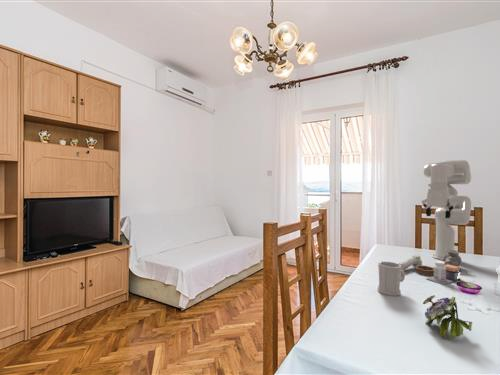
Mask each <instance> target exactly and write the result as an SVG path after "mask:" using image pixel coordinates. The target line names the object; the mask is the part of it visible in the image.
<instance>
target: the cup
mask: <svg viewBox="0 0 500 375" xmlns="http://www.w3.org/2000/svg"><path fill="white" fill-rule="evenodd" d="M377 264H378V265H377V266H378V285H377V291H378V292H379V293H381V294H383V295H386V296H389V297H395V296H396V297H397V296H400V295H401V292H402V291H401V289H400V286H401V285H400V284H401V283H402V282H404V280H405V277H406V272H405V271H403V270H401V265H399V263H397V262H391V261H379V262H378V263H377Z"/></svg>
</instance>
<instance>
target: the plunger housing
mask: <svg viewBox="0 0 500 375" xmlns="http://www.w3.org/2000/svg"><path fill="white" fill-rule="evenodd" d="M458 273H459V272H458V271H455V272H451V271H448V270H446V279H448V280H452V281H454V282H453V283H455V282H458V281H459V280H458V279H457V276H458Z"/></svg>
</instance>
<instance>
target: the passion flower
mask: <svg viewBox="0 0 500 375" xmlns="http://www.w3.org/2000/svg"><path fill="white" fill-rule="evenodd" d="M435 297H436V295H430V296H429V297H427V298H426V299H425V300H424V301H423V302H422V304H423V305H426V304H428V303H431V304H430V306H429V307H427V308H426V312H424V316H425V319H426V321H425V325H428V326H429V325H430V326H431V325H432V324H433V322H434V321H436V325H438V326H439V334H440V336H441V338H443V339H444V340H446V336H447V334H448V333H449V336H450V339H451V340H452V339H455V338H456V337H458V338H459V337H460V336H462V335H464V328H465V329H467V330H468V331H472V325H473V322H472V321H468V320H463V319H460V318H459V314H458V313H459V312H458V306H457V302H456V297H455V296H452V297H451V298H449V297H443V298H440V299H439V298H438V299H437V301H435V302H433V299H434V298H435ZM446 316H447V317H446ZM449 326H450V329H449Z"/></svg>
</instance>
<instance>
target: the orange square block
mask: <svg viewBox="0 0 500 375" xmlns="http://www.w3.org/2000/svg"><path fill="white" fill-rule="evenodd" d="M445 267H446V270H448V271H451V272H455V271H460V266H458V267H457V266H453V265H449V264H447V265H445Z"/></svg>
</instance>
